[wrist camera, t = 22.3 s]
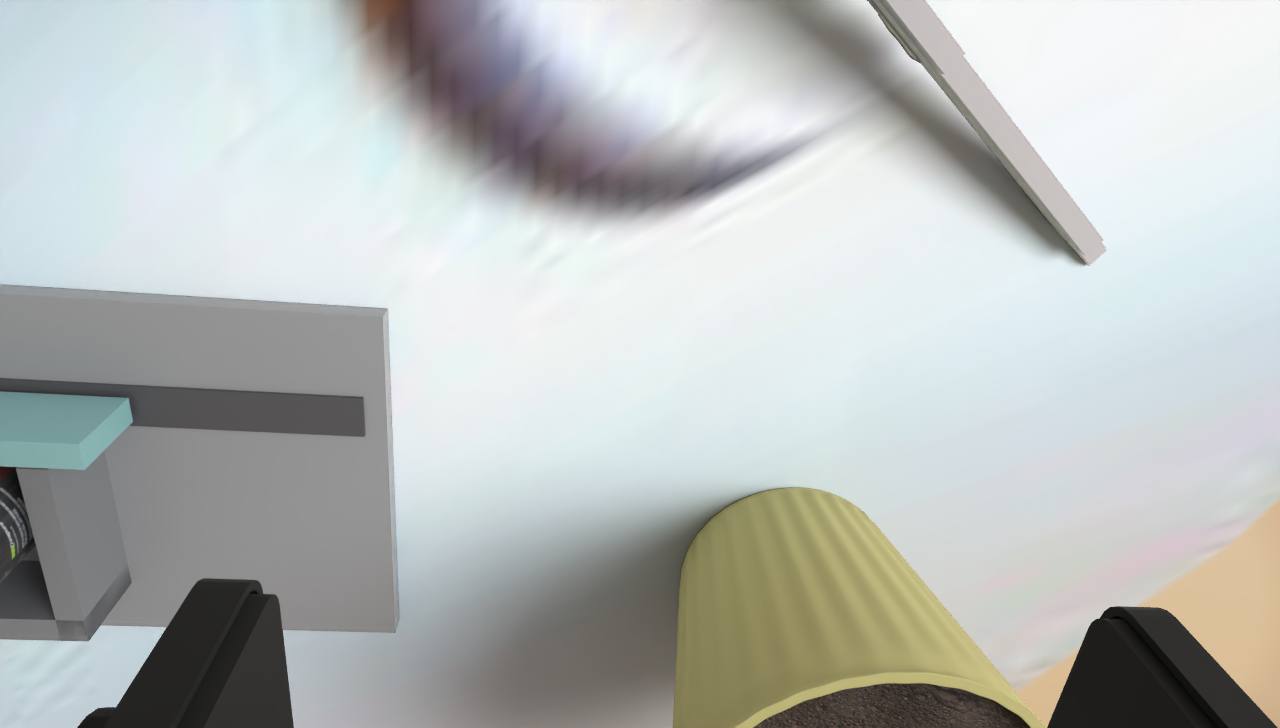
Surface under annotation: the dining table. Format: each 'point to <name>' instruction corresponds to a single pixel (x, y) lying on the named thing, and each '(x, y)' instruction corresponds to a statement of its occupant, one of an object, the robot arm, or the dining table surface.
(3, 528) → the supplement bottle
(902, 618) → the potted cactus
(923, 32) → the caliper
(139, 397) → the housing
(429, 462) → the dining table surface
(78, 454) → the bar
